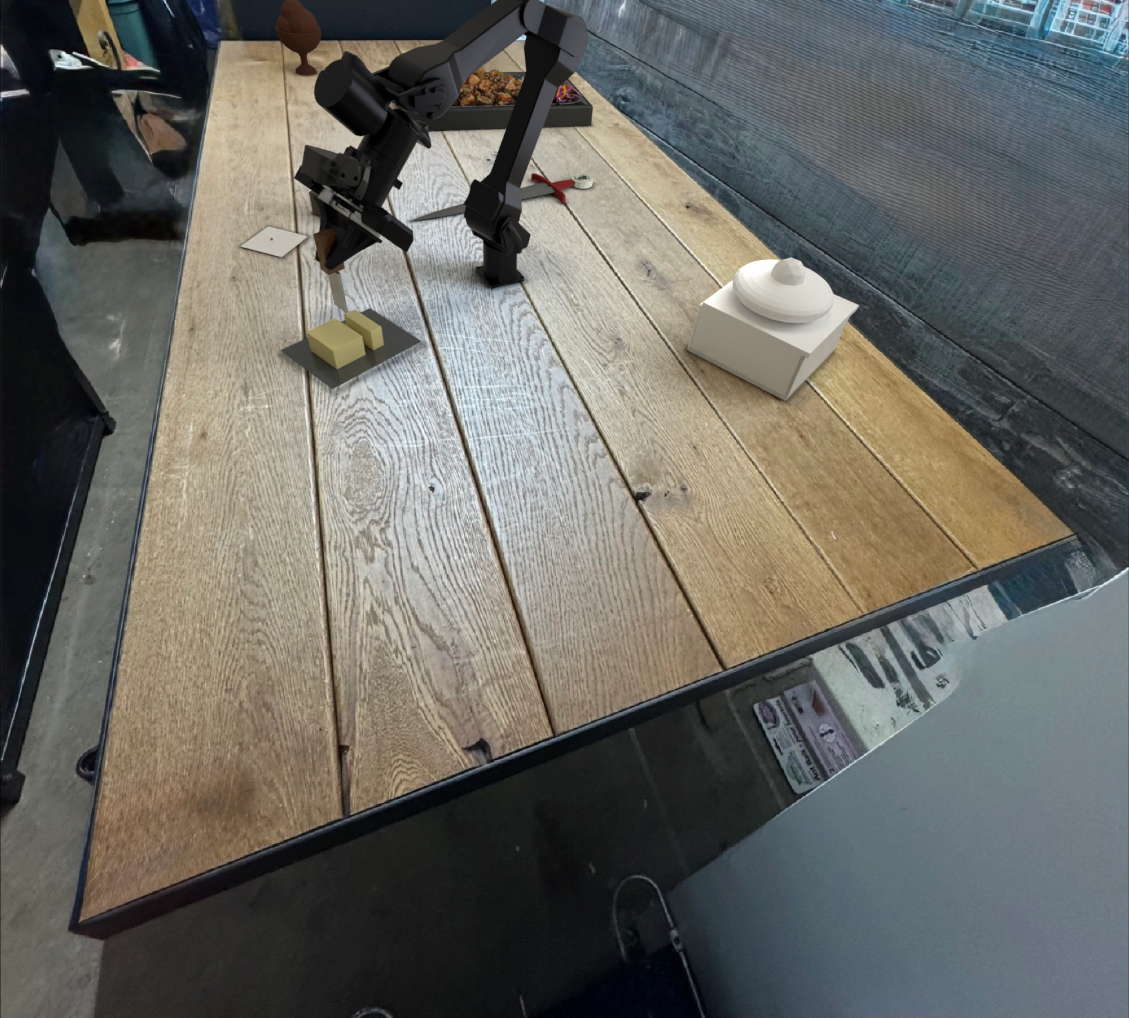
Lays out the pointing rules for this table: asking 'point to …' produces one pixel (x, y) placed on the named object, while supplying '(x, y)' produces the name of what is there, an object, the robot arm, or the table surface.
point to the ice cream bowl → (298, 33)
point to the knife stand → (315, 207)
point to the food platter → (505, 104)
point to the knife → (323, 247)
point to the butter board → (393, 345)
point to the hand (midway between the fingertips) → (322, 264)
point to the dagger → (530, 191)
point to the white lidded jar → (771, 325)
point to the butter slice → (365, 329)
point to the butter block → (336, 343)
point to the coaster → (274, 241)
